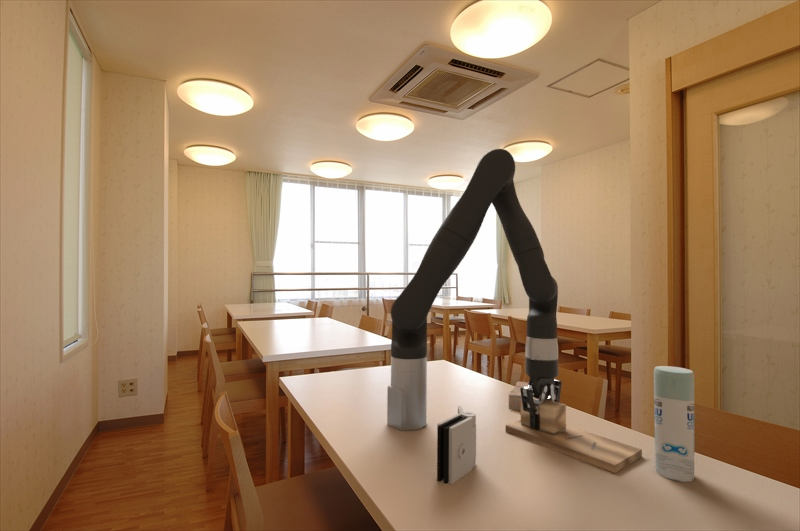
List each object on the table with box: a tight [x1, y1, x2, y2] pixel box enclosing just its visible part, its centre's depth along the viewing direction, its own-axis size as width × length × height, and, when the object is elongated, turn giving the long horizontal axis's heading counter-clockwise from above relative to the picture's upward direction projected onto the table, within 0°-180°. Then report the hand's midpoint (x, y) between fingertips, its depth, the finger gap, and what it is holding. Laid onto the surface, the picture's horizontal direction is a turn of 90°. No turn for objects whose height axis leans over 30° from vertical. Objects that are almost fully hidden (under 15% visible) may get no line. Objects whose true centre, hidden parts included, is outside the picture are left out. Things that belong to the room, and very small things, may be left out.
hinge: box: [436, 405, 477, 485], centre depth 80 cm, size 14×5×10 cm, turn 153°
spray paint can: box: [653, 365, 695, 483], centre depth 78 cm, size 6×6×20 cm
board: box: [505, 419, 643, 474], centre depth 92 cm, size 12×26×2 cm, turn 37°
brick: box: [508, 381, 529, 411], centre depth 122 cm, size 17×8×5 cm, turn 154°
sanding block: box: [520, 397, 567, 435], centre depth 98 cm, size 5×9×6 cm, turn 37°
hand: (541, 426), depth 98 cm, fingers closed on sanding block, 5 cm apart
